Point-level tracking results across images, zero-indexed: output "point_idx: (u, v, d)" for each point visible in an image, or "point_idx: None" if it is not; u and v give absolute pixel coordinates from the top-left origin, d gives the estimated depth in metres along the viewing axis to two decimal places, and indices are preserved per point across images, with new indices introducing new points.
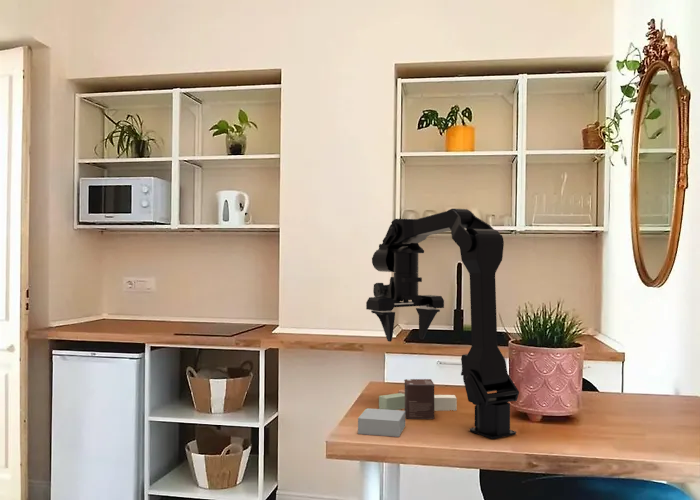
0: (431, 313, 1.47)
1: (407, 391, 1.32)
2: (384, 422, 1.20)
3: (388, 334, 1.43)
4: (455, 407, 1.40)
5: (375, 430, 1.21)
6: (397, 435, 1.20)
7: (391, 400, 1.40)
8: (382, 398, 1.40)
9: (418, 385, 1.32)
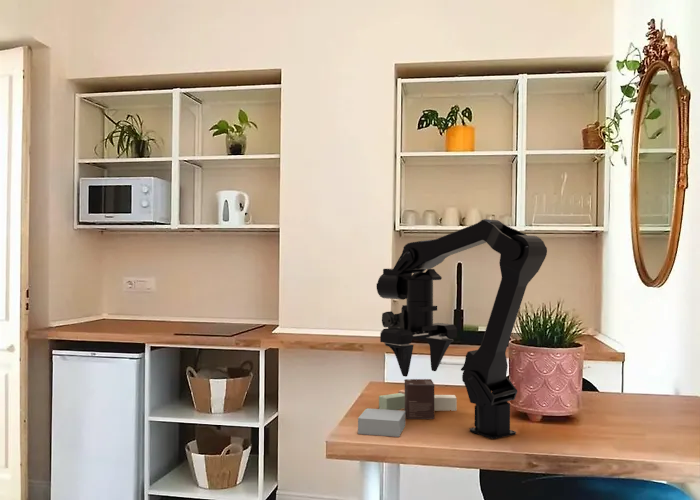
0: (445, 343, 1.37)
1: (407, 391, 1.32)
2: (384, 422, 1.20)
3: (404, 369, 1.31)
4: (455, 407, 1.40)
5: (375, 430, 1.21)
6: (397, 435, 1.20)
7: (391, 400, 1.40)
8: (382, 398, 1.40)
9: (418, 385, 1.32)
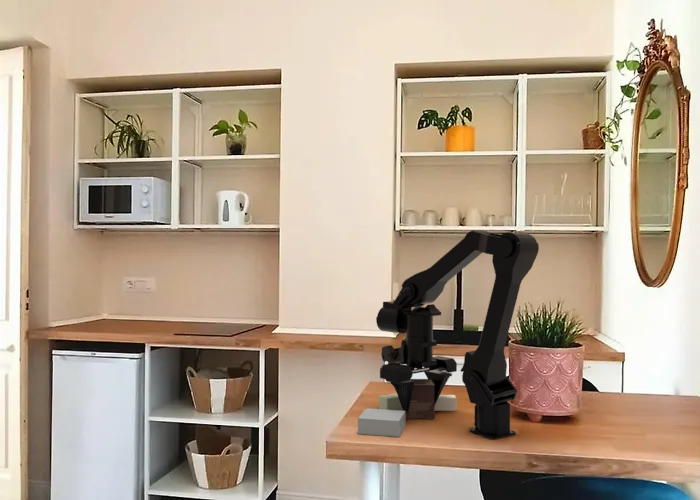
0: (444, 378, 1.37)
1: None
2: (384, 422, 1.20)
3: (404, 404, 1.32)
4: (455, 407, 1.40)
5: (375, 430, 1.21)
6: (397, 435, 1.20)
7: (391, 400, 1.39)
8: (382, 398, 1.40)
9: (418, 385, 1.32)
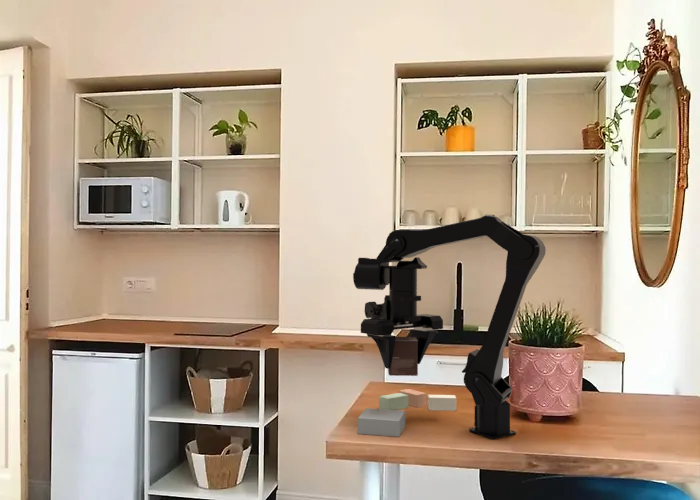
0: (429, 335, 1.31)
1: None
2: (384, 422, 1.20)
3: (386, 360, 1.27)
4: (455, 407, 1.40)
5: (375, 430, 1.21)
6: (397, 435, 1.20)
7: (392, 400, 1.39)
8: (383, 398, 1.40)
9: (401, 341, 1.28)
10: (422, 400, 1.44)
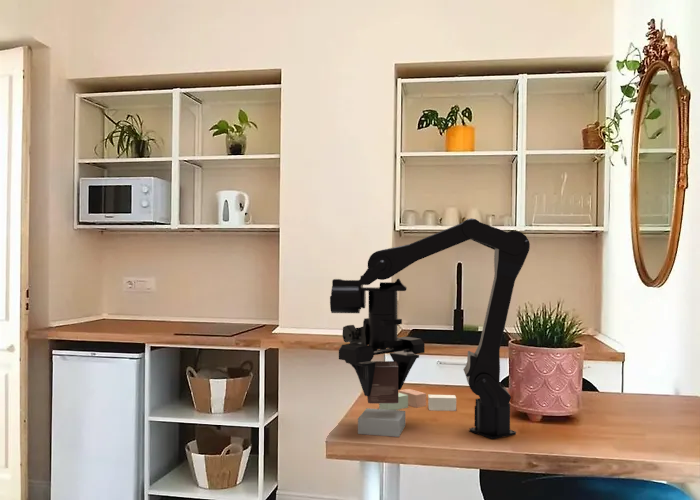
0: (410, 360, 1.26)
1: None
2: (384, 422, 1.20)
3: (366, 388, 1.21)
4: (455, 407, 1.40)
5: (375, 430, 1.21)
6: (397, 435, 1.20)
7: None
8: None
9: (381, 367, 1.22)
10: (422, 400, 1.43)
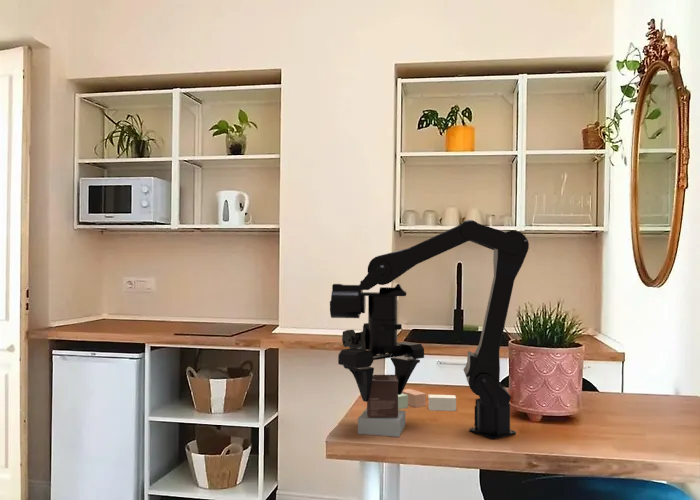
0: (411, 365, 1.26)
1: None
2: (384, 422, 1.20)
3: (364, 393, 1.21)
4: (455, 407, 1.39)
5: (375, 430, 1.21)
6: (397, 435, 1.20)
7: None
8: None
9: (381, 381, 1.22)
10: (421, 400, 1.43)
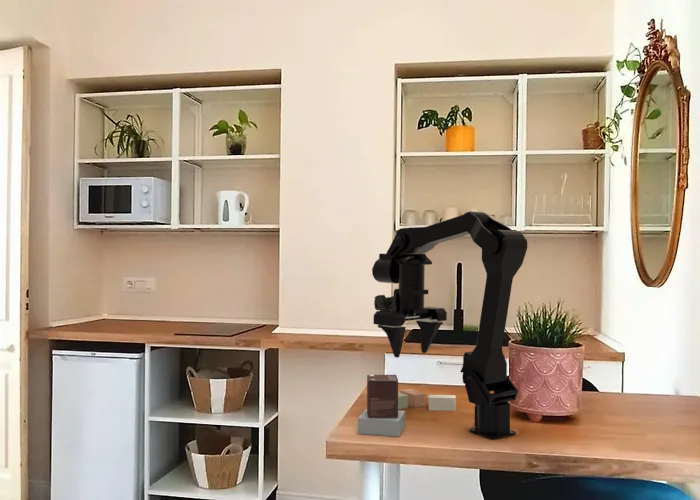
0: (435, 326, 1.42)
1: (369, 387, 1.21)
2: (384, 422, 1.20)
3: (396, 350, 1.36)
4: (454, 407, 1.39)
5: (375, 430, 1.21)
6: (397, 435, 1.20)
7: None
8: None
9: (381, 381, 1.22)
10: (421, 400, 1.43)
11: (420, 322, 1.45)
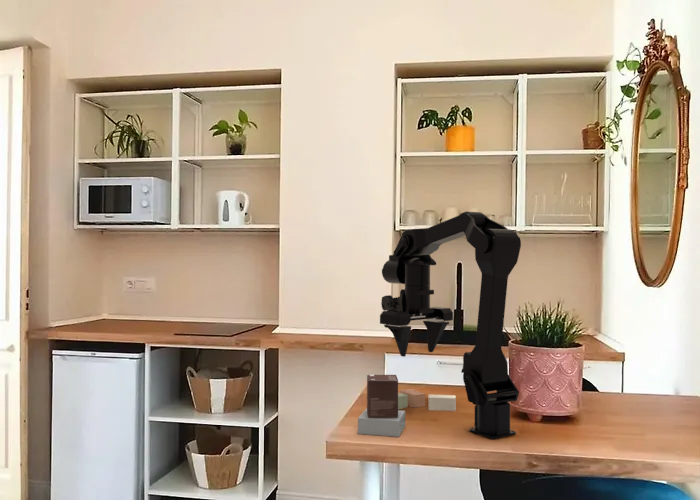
0: (442, 326, 1.44)
1: (369, 387, 1.21)
2: (384, 422, 1.20)
3: (402, 349, 1.39)
4: (454, 408, 1.39)
5: (375, 430, 1.21)
6: (397, 435, 1.20)
7: None
8: None
9: (381, 381, 1.22)
10: (420, 400, 1.43)
11: (427, 322, 1.47)
